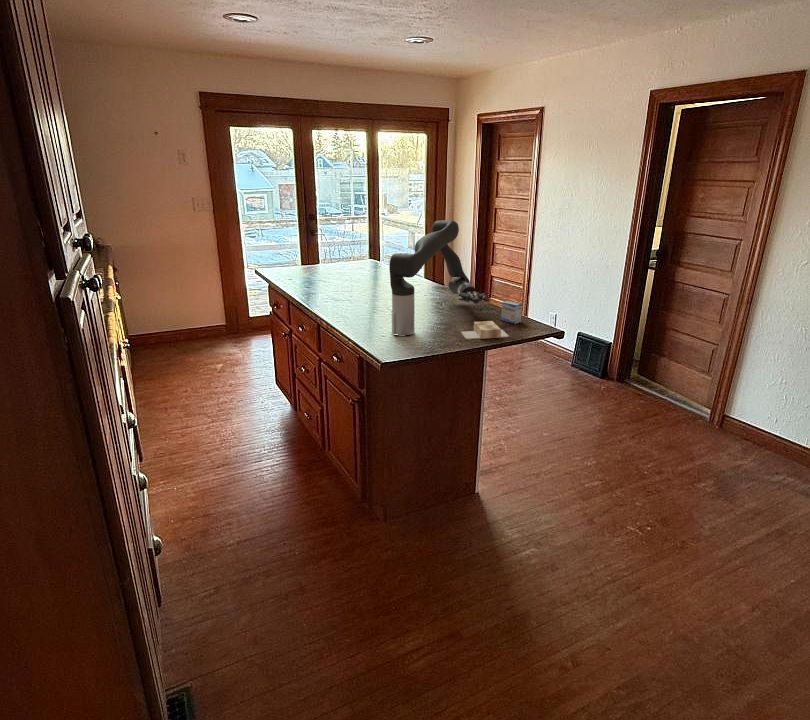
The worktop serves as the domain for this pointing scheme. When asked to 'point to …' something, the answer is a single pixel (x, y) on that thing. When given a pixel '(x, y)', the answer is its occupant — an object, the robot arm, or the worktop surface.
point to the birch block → (487, 329)
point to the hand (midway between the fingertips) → (476, 301)
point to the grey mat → (475, 336)
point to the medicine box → (511, 312)
